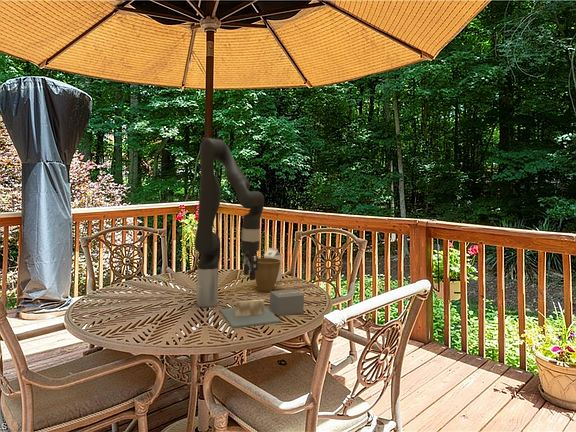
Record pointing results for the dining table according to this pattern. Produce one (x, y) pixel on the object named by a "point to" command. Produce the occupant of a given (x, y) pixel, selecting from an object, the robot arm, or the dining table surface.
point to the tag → (249, 307)
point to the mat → (248, 318)
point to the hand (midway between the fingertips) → (249, 277)
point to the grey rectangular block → (286, 302)
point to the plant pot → (267, 273)
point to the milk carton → (276, 255)
